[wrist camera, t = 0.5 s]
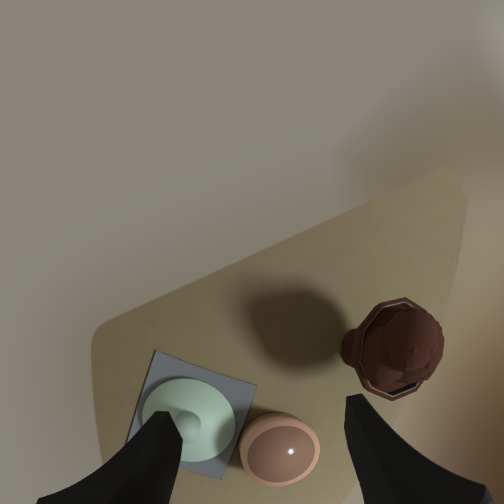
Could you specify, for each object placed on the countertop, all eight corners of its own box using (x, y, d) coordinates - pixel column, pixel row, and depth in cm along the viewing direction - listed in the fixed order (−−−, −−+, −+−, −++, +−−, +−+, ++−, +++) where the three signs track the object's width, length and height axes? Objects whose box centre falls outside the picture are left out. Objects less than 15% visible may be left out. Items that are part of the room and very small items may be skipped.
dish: (295, 477, 29) (303, 490, 25) (228, 464, 29) (231, 478, 25) (318, 420, 32) (330, 428, 28) (251, 404, 32) (256, 412, 28)
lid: (218, 469, 29) (220, 484, 24) (134, 440, 28) (125, 452, 24) (246, 395, 32) (251, 403, 28) (158, 364, 31) (151, 368, 27)
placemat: (221, 479, 28) (221, 479, 28) (126, 446, 28) (125, 446, 28) (256, 385, 32) (257, 385, 32) (156, 350, 32) (156, 350, 32)
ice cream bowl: (315, 386, 33) (377, 412, 19) (329, 301, 37) (395, 278, 22) (385, 390, 34) (460, 405, 20) (395, 312, 37) (472, 295, 23)
